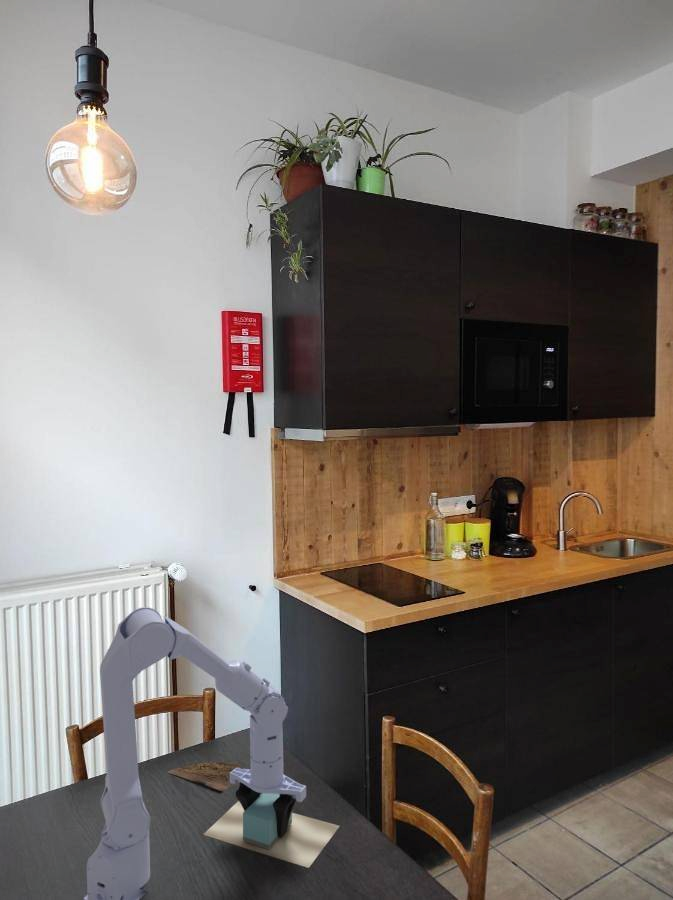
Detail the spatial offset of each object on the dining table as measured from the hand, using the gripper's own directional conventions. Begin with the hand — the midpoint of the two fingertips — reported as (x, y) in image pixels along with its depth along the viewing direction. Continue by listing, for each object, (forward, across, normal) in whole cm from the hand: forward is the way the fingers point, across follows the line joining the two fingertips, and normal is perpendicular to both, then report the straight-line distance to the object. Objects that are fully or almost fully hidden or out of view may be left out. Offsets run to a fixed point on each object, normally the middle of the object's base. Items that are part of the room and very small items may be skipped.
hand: (268, 829), depth 118 cm
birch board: (+2, 0, -1) cm, 2 cm away
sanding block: (0, 0, 0) cm, 0 cm away
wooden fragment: (+3, +19, -14) cm, 24 cm away
